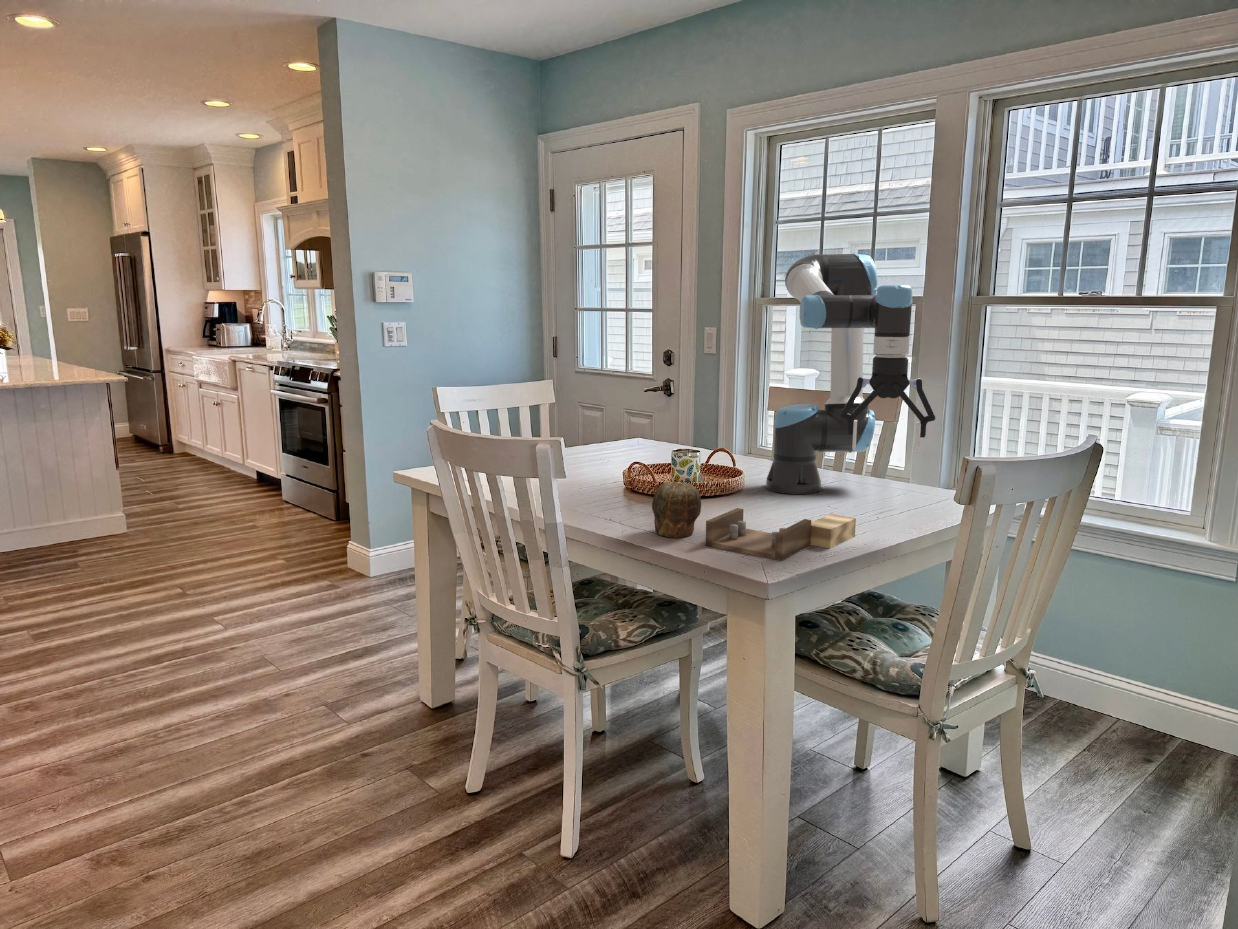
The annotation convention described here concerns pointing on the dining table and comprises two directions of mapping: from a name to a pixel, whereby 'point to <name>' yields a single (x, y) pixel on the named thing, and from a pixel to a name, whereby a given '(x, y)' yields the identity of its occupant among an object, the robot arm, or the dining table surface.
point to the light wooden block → (832, 530)
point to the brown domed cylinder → (676, 509)
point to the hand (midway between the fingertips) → (885, 450)
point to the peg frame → (756, 537)
